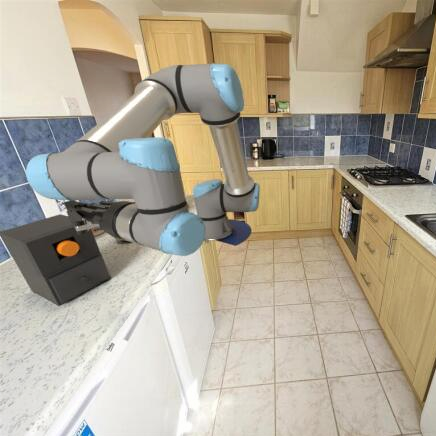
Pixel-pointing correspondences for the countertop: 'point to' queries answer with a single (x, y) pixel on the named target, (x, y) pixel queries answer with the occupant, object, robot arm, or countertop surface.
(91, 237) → the panel
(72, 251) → the button
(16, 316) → the countertop surface
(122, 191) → the robot arm
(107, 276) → the pull-out fryer drawer
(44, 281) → the fryer base
